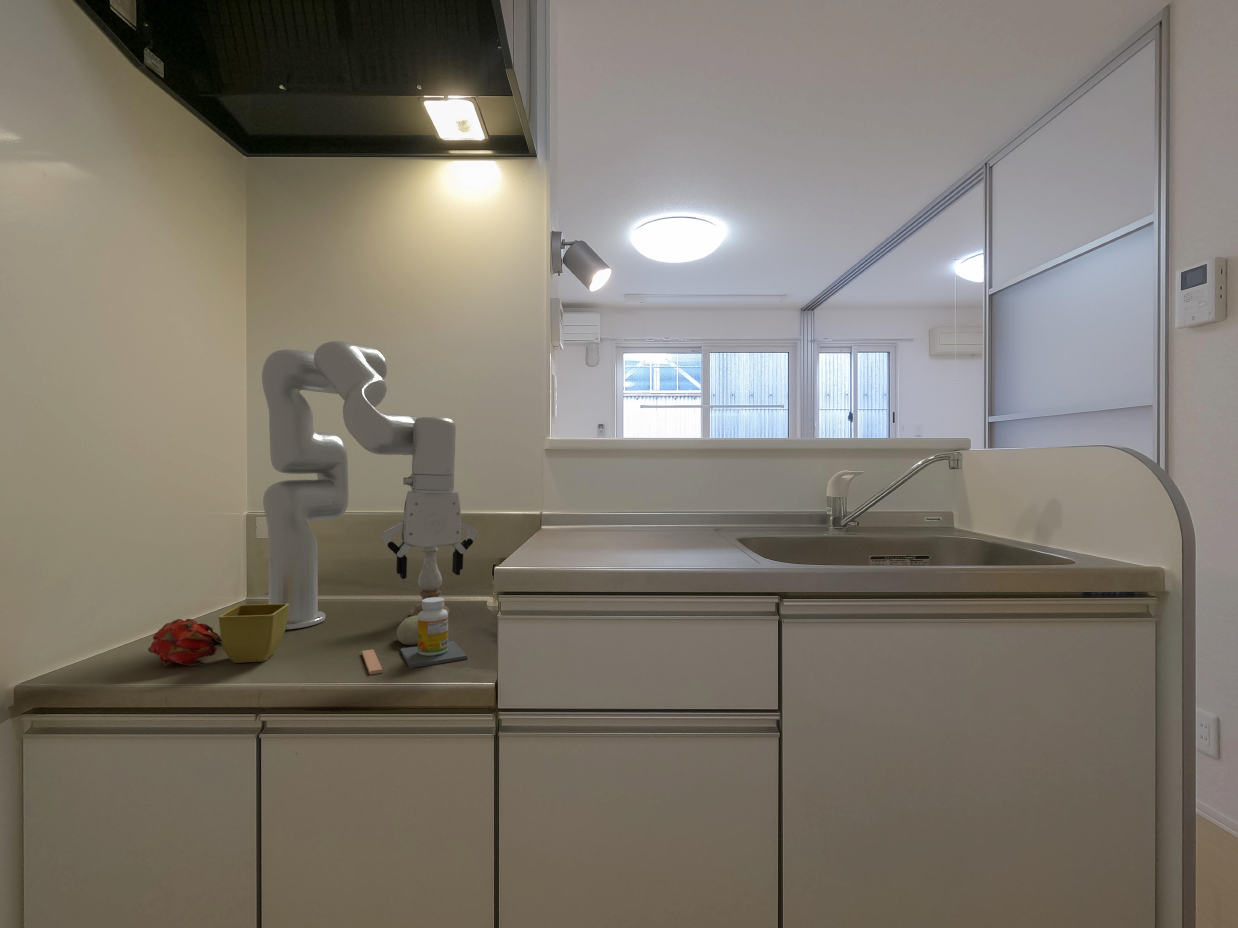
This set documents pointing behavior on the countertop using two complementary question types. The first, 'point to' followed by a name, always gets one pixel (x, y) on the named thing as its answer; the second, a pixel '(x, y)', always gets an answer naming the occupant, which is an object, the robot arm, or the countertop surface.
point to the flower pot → (253, 631)
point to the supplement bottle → (432, 627)
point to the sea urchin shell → (408, 631)
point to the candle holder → (429, 578)
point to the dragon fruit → (184, 642)
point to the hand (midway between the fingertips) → (430, 575)
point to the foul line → (371, 662)
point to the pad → (420, 660)
